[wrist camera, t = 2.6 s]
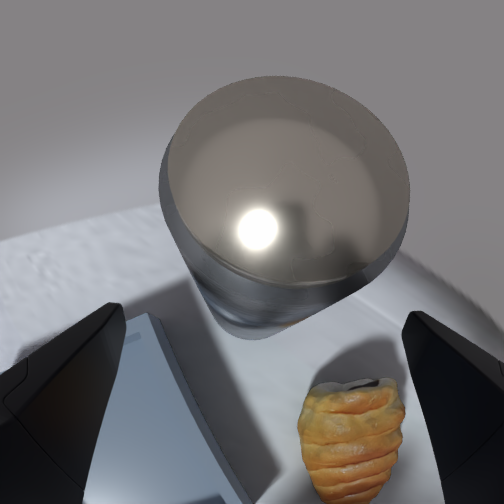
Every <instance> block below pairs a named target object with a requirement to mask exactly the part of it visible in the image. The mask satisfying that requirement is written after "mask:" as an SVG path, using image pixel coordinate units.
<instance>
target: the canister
mask: <svg viewBox="0 0 504 504" xmlns="http://www.w3.org/2000/svg"><path fill="white" fill-rule="evenodd" d="M159 197H160V204H161V208H162V212H163V215H164V219H165V222H166V224H167V226H168V228H169V230H170V232H171V234H172V236H173V238H174V241H175V243H176V245H177V247H178V249H179V251H180V253H181V255H182V257H183V259H184V261H185V263H186V265H187V267H188V269H189V271H190V273H191V275H192V277H193V279H194V281H195V283H196V285H197V287H198V289H199V291H200V292H201V294H202V296H203V298H204V300H205V302H206V304H207V306H208V308H209V310H210V312H211V313H212V315H213V317H214V319H215V320H216V322H217V323H218V324H219V325H220V327H221V328H222V329H224V330H225V331H226V332H228V333H229V334H231V335H233V336H235V337H238V338H241V339H246V340H260V339H265V338H268V337H270V336H273V335H275V334H277V333H279V332H281V331H283V330H285V329H287V328H289V327H291V326H293V325H295V324H297V323H299V322H300V321H302V320H304V319H306V318H308V317H310V316H312V315H314V314H316V313H318V312H320V311H321V310H323V309H325V308H327V307H329V306H331V305H333V304H334V303H336V302H338V301H340V300H342V299H344V298H345V297H347V296H349V295H351V294H353V293H354V292H356V291H358V290H359V289H361V288H362V287H364V286H366V285H367V284H369V283H370V282H372V281H373V280H374V279H375V278H376V277H377V276H378V275H379V274H380V273H382V272H383V271H384V270H385V268H386V267H387V266H388V265H389V263H390V262H391V261H392V260H393V258H394V256H395V255H396V253H397V251H398V249H399V247H400V246H401V243H402V240H403V238H404V235H405V232H406V227H407V221H408V214H409V202H410V184H409V176H408V171H407V168H406V164H405V161H404V158H403V156H402V153H401V151H400V149H399V147H398V145H397V143H396V141H395V140H394V138H393V137H392V135H391V134H390V132H389V131H388V130H387V128H386V127H385V126H384V125H383V124H382V122H381V121H380V120H379V119H378V118H377V117H376V116H375V115H374V114H373V113H372V112H371V111H369V110H368V109H367V108H366V107H364V106H363V105H361V104H360V103H359V102H358V101H356V100H355V99H353V98H351V97H350V96H348V95H346V94H345V93H342V92H340V91H339V90H337V89H335V88H332V87H330V86H327V85H324V84H322V83H318V82H315V81H311V80H307V79H302V78H296V77H286V76H265V77H255V78H251V79H246V80H242V81H238V82H235V83H232V84H229V85H227V86H224V87H222V88H220V89H218V90H216V91H215V92H213V93H211V94H209V95H208V96H206V97H205V98H204V99H202V100H201V101H200V102H198V103H197V104H196V105H195V106H194V107H193V108H192V109H191V110H190V111H189V112H188V114H187V115H186V116H185V118H184V119H183V120H182V122H181V123H180V125H179V127H178V129H177V130H176V132H175V134H174V135H173V137H172V139H171V141H170V142H169V144H168V146H167V148H166V151H165V154H164V157H163V159H162V163H161V168H160V173H159Z"/></svg>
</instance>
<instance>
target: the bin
mask: <svg viewBox="0 0 504 504" xmlns="http://www.w3.org/2000/svg"><path fill="white" fill-rule="evenodd" d="M126 327H127V328H126V335H125V340H124V344H123V349H122V353H121V358H120V363H119V368H118V372H117V376H116V379H115V382H114V385H113V389H112V392H111V395H110V398H109V401H108V405H107V408H106V411H105V415H104V418H103V422H102V425H101V429H100V432H99V436H98V439H97V443H96V447H95V451H94V454H93V458H92V462H91V466H90V470H89V475H88V479H87V483H86V488H85V491H84V492H85V493H84V497H83V502H82V504H253V503H252V501H251V500H250V498H249V496H248V495H247V493H246V492H245V490H244V488H243V487H242V485H241V483H240V482H239V480H238V478H237V477H236V475H235V473H234V472H233V470H232V468H231V467H230V465H229V463H228V461H227V460H226V458H225V456H224V454H223V452H222V451H221V449H220V447H219V445H218V443H217V441H216V440H215V438H214V436H213V434H212V432H211V430H210V428H209V426H208V424H207V423H206V421H205V419H204V417H203V415H202V413H201V411H200V409H199V407H198V405H197V403H196V401H195V399H194V397H193V394H192V392H191V390H190V388H189V386H188V384H187V382H186V380H185V378H184V375H183V373H182V371H181V369H180V367H179V364H178V362H177V360H176V358H175V355H174V353H173V351H172V348H171V346H170V344H169V341H168V339H167V337H166V334H165V332H164V329H163V327H162V324H161V322H160V319H159V318H157V317H155V316H153V315H151V314H149V313H144V314H142V315H140V316H137V317H135V318H133V319H130V320H128V321H126ZM6 371H7V370H6ZM3 372H5V371H3ZM3 372H1V373H0V374H2V373H3Z"/></svg>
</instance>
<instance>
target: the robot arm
mask: <svg viewBox="0 0 504 504" xmlns="http://www.w3.org/2000/svg"><path fill="white" fill-rule="evenodd" d="M126 328H127V327H126V321H125V316H124V312H123V307H122V305H121V304H120V303H112V302H109V303H107V304H105V305H103V306H102V307H100V308H99V309H97V310H96V311H94V312H93V313H91V314H90V315H88V316H87V317H85V318H84V319H82V320H81V321H79V322H78V323H76V324H75V325H73V326H72V327H70V328H69V329H67V330H66V331H64V332H63V333H61V334H60V335H58V336H57V337H55V338H54V339H52V340H51V341H49V342H48V343H46V344H45V345H43V346H42V347H40V348H39V349H37V350H36V351H35V352H33V353H32V354H30V355H29V356H28V357H26V358H24V359H23V360H21V361H20V362H19V363H17V364H16V365H14V366H13V367H11V368H10V369H8V370H7V371H5V372H3V373H2V374H0V504H82V502H83V497H84V493H85V492H84V491H85V488H86V483H87V479H88V475H89V470H90V466H91V462H92V458H93V454H94V451H95V447H96V443H97V439H98V436H99V432H100V429H101V425H102V422H103V418H104V415H105V411H106V408H107V405H108V401H109V398H110V395H111V392H112V389H113V385H114V382H115V379H116V376H117V372H118V368H119V363H120V358H121V353H122V349H123V344H124V340H125V335H126ZM402 341H403V345H404V349H405V353H406V357H407V361H408V366H409V370H410V374H411V377H412V381H413V384H414V387H415V390H416V393H417V396H418V399H419V402H420V405H421V409H422V412H423V415H424V419H425V422H426V425H427V429H428V433H429V436H430V440H431V443H432V447H433V451H434V455H435V459H436V463H437V467H438V471H439V476H440V480H441V485H442V490H443V495H444V500H445V504H504V363H503V362H501V361H500V360H499V361H498V359H496V358H495V357H493V356H492V355H490V354H489V353H487V352H486V351H484V350H483V349H481V348H480V347H478V346H477V345H475V344H473V343H472V342H470V341H469V340H467V339H466V338H464V337H463V336H461V335H459V334H458V333H456V332H455V331H453V330H452V329H450V328H448V327H447V326H445V325H444V324H442V323H440V322H439V321H437V320H436V319H434V318H432V317H431V316H429V315H428V314H426V313H424V312H423V311H412V312H410V313H409V315H408V317H407V320H406V322H405V325H404V327H403V329H402Z"/></svg>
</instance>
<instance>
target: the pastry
mask: <svg viewBox="0 0 504 504" xmlns="http://www.w3.org/2000/svg"><path fill="white" fill-rule="evenodd" d="M405 414H406V413H405V407H404V405H403V404H402V402H401V400H400V398H399V395H398V390H397V382H396V381H395V380H394V379H392V378H389V377H384V378H380V379H377V380H374V381H373V380H372V379H359V380H357V381H352V382H349V383H346V384H339V383H337V382H328V383H320V384H318V385H316V386H315V387H313V388H312V389H311V390H310V391H309V393H308V394H307V396H306V398H305V401H304V404H303V408H302V411H301V414H300V417H299V419H298V427H297V429H298V432H299V436H300V443H301V450H302V459H303V461H304V463H305V465H306V469H307V471H308V473H309V474H310V478H311V480H312V483H313V486H314V488H315V489H316V491H317V493H318V495H319V496H320V499H321V500H322V501H323V502H324V503H326V504H369V503H370V501H371V500H372V499H373V498H375V497H376V496H377V495H378V493H379V491H380V490H381V488H382V487H383V485H384V484H385V483H386V482H387V481H388V480H389V479H390V476H391V468H392V466H393V465H394V464H395V463H396V462H397V460H398V448H399V446H400V445H401V443H402V438H403V436H402V432H401V430H400V423H401V422H402V421H403V419H404V418H405Z"/></svg>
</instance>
